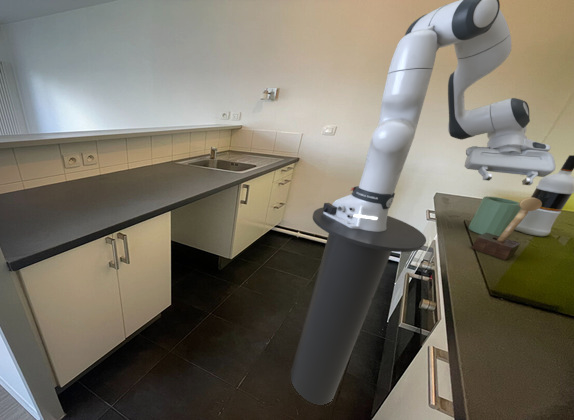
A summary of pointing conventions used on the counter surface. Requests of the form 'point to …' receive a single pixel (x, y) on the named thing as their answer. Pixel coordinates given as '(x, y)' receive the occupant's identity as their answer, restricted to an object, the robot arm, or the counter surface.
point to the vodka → (549, 200)
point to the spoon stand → (495, 246)
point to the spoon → (520, 215)
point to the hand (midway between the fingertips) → (506, 181)
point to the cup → (494, 215)
